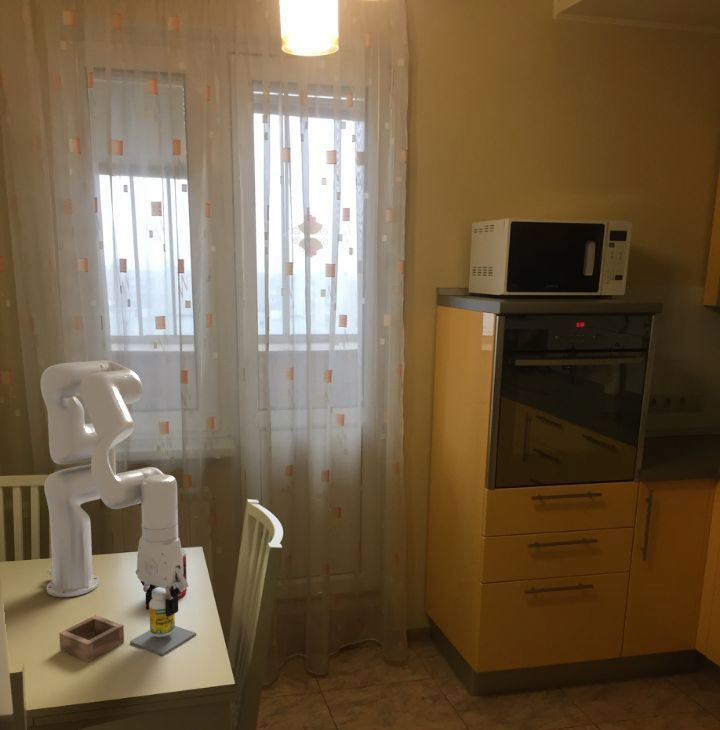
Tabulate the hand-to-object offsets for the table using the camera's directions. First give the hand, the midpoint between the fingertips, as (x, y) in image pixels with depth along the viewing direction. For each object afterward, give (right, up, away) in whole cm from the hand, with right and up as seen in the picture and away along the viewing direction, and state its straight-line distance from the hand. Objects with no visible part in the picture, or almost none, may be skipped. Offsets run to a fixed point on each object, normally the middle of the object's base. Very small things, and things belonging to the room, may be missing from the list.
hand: (162, 609), depth 146 cm
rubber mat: (0, -7, +1) cm, 7 cm away
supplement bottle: (0, -5, +1) cm, 5 cm away
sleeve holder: (-14, -7, -3) cm, 16 cm away
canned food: (-4, -5, +23) cm, 24 cm away
